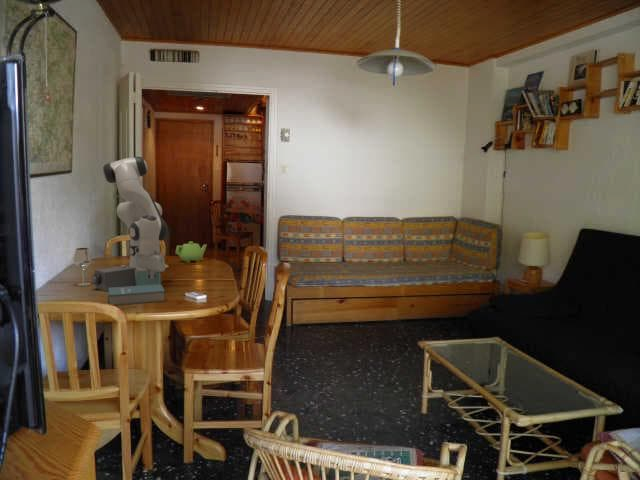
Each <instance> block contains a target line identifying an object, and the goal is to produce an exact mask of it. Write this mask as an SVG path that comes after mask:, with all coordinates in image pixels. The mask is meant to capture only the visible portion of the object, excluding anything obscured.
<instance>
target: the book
mask: <svg viewBox="0 0 640 480" xmlns="http://www.w3.org/2000/svg"><path fill="white" fill-rule="evenodd" d="M107 292H108V293H107V294H108V303H109V302H110V303H109V304H115V305H114V306H121V305H123V306H124V305H133V304H135V305H136V304H147V303H158V302H165V301H166V300H165V292H166V291H165V289H164V286H163V285H162V284H161V283H160V284H154V285H140V286H126V287H111V288H108V291H107ZM109 304H108V305H109Z"/></svg>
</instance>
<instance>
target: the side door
mask: <svg viewBox="0 0 640 480" xmlns="http://www.w3.org/2000/svg"><path fill="white" fill-rule="evenodd" d="M162 282H163V277H162V276H161V272H155V275H154V279H150V278H148V277H147V273H146V271H139V270H135V285H136V286H140V285H154V284H161V283H162Z"/></svg>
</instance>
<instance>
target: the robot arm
mask: <svg viewBox="0 0 640 480" xmlns="http://www.w3.org/2000/svg"><path fill="white" fill-rule="evenodd" d="M147 173H148V163H147V161H146V160H145V159H144V157H142V156H134V157H127V158H126V157H125V158H122V159H120V160H116V161H112V162H107V163H106V164H104V165H103V167H102V176H103V177H104V179H105V180H106V182H108V183H109V184H116V188H117V191H118V194H119V195H120V197H121V198H122V199H123V200H124V202H120V203H118V205H117V208H116V215H117V217H118V218H119V220H122V221H123V223H124V224H125V225H126V227H127V228H128V232H129V233H128V234H129V235H128V236H129V240H130V244H129V256H130V257H129V258H130V259H129V265H128V266H130V267H134V268H136V270H139V271H146V273H147V277H148V278H150V279H154V275H155V272H157V273H161V272H165V271H166V269H168V268H169V265H168V264H166V263H165V257H164V256H163V254H162V252H161V249H160V248H161V245H160V241H161V242H162V241H163V240H165V239H166V238H167V237H168V235H169V227H168V225H167V223H166V222H165V220H164V219H163V217H162V215H163V209H162V206H161V204H159V203H158V202H156V201H154V198H153V197H152V195H151V193H150V192H148V191H146V190H145V189H144V186H143V184H142V181H141V178H140V177H144V176H145V175H147Z"/></svg>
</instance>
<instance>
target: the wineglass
mask: <svg viewBox="0 0 640 480" xmlns="http://www.w3.org/2000/svg"><path fill="white" fill-rule="evenodd" d="M73 256H74V257H73V264H75V266H77V267H78V268H79V269H81V272H82V282H79V283H76V285H77V286H78V287H79V286H80V287H84V286H86V287H87V286H90V285H92V283H91V282H86V279H85V270H86V268H88V266H90V265H91V263H92V261H93V258H92V255H91V252H90V248H88V247H80V248H79V247H78V248H75V251H74V255H73Z"/></svg>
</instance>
